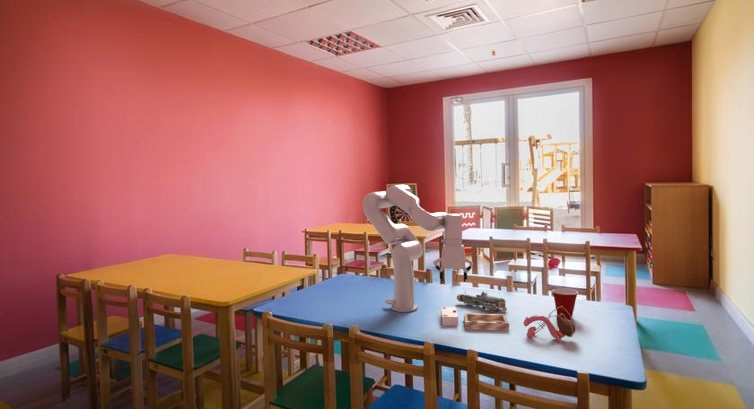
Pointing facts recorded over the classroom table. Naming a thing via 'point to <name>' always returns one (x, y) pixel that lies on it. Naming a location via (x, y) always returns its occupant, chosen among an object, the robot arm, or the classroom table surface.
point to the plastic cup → (565, 301)
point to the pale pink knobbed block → (449, 316)
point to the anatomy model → (563, 325)
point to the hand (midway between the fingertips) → (453, 280)
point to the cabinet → (486, 321)
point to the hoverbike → (483, 301)
